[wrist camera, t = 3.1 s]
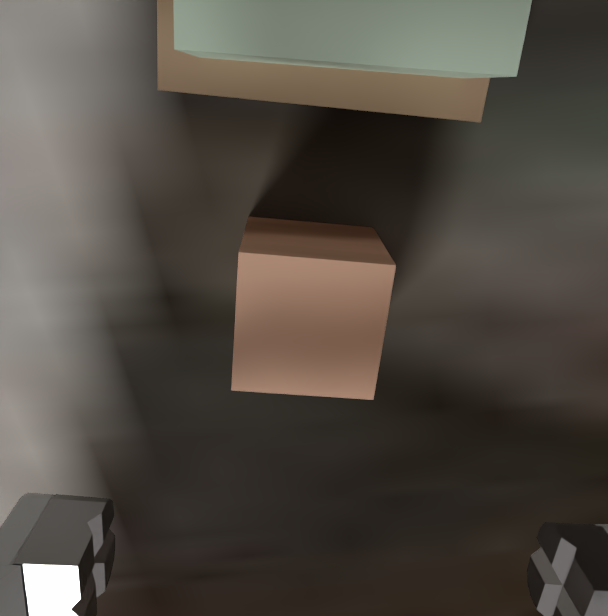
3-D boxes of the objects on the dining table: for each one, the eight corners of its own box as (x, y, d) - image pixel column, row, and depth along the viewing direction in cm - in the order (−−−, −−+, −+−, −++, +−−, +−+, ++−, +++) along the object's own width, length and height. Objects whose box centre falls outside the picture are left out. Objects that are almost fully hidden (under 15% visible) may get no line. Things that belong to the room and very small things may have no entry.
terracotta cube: (248, 215, 22) (238, 252, 17) (372, 227, 22) (396, 265, 17) (242, 329, 23) (231, 390, 19) (356, 338, 24) (373, 399, 19)
